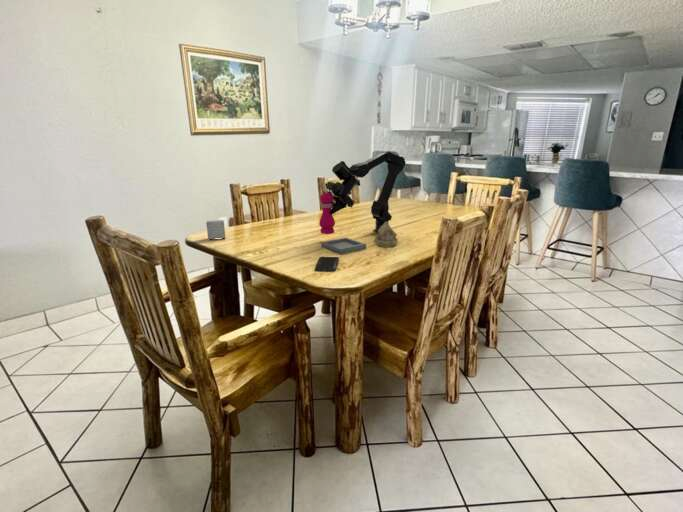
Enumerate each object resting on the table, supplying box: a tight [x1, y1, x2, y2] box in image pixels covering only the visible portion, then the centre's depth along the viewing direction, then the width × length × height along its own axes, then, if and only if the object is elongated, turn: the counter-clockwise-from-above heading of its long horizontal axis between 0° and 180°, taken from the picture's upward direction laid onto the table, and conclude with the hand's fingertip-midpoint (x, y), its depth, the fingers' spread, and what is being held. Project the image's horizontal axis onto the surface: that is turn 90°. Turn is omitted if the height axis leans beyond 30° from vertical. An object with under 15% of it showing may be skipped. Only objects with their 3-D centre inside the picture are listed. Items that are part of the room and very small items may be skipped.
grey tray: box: [320, 237, 367, 255], centre depth 158 cm, size 14×14×2 cm
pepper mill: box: [319, 188, 336, 235], centre depth 165 cm, size 7×7×20 cm
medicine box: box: [205, 219, 226, 240], centre depth 173 cm, size 8×4×9 cm, turn 108°
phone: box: [314, 256, 340, 273], centre depth 137 cm, size 8×1×15 cm
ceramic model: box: [373, 221, 398, 248], centre depth 165 cm, size 14×11×10 cm
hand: (327, 213), depth 166 cm, fingers closed on pepper mill, 5 cm apart
